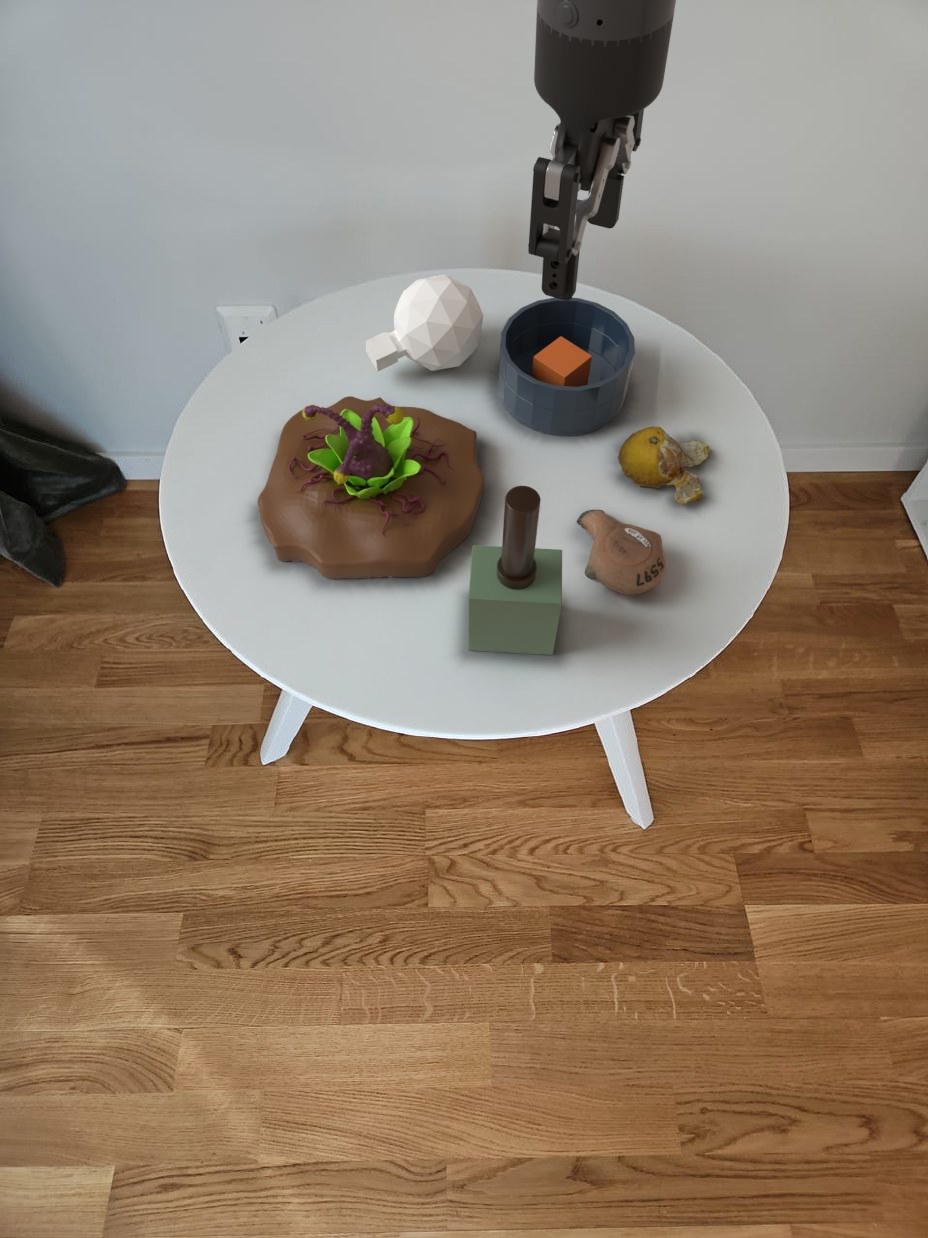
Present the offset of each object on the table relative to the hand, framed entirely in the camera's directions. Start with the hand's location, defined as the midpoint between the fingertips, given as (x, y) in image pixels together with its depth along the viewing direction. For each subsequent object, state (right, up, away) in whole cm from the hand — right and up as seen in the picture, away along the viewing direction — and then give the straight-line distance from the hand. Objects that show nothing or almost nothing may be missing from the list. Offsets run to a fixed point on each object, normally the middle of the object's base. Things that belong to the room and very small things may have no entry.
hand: (580, 257), depth 63 cm
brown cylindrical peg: (-4, -22, +6) cm, 23 cm away
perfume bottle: (-12, +1, +29) cm, 32 cm away
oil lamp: (+5, -20, +16) cm, 27 cm away
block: (+1, -2, +26) cm, 26 cm away
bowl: (+2, -2, +27) cm, 27 cm away
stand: (-4, -26, +13) cm, 29 cm away
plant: (-16, -14, +20) cm, 29 cm away
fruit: (+11, -12, +21) cm, 27 cm away
